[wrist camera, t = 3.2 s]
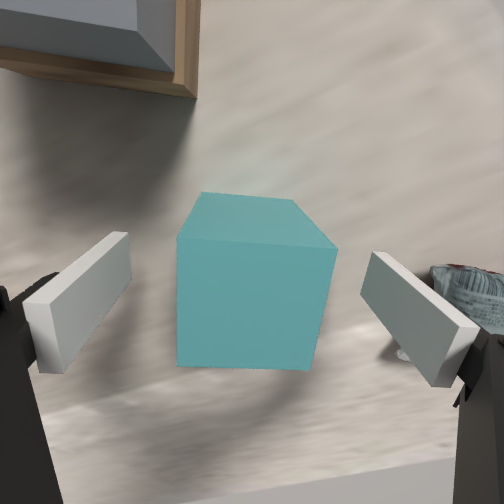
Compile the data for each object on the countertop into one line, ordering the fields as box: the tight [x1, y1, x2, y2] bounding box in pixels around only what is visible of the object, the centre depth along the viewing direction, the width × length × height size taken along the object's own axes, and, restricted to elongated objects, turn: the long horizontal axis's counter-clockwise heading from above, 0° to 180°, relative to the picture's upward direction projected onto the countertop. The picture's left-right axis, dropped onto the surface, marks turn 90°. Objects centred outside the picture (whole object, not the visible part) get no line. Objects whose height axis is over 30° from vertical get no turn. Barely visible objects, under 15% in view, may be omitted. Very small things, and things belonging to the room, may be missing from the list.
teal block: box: [177, 192, 338, 370], centre depth 16 cm, size 6×6×9 cm
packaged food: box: [395, 264, 504, 363], centre depth 21 cm, size 9×12×5 cm
